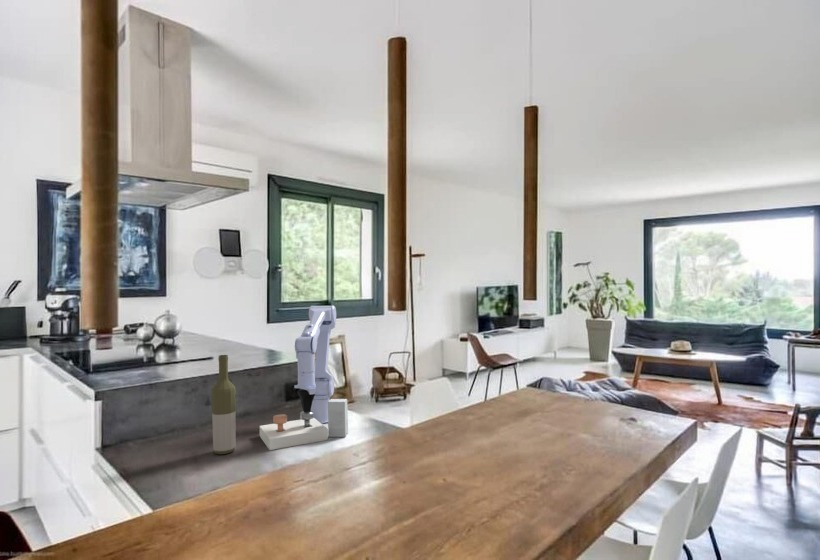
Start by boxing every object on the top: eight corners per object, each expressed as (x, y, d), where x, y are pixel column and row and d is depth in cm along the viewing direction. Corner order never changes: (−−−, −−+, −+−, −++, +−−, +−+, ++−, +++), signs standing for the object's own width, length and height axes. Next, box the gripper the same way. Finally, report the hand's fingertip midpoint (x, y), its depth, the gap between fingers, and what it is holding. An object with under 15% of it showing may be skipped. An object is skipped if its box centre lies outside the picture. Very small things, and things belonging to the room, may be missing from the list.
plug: (298, 426, 158) (298, 411, 158) (311, 424, 160) (311, 409, 160) (302, 430, 154) (302, 414, 154) (315, 428, 156) (315, 412, 156)
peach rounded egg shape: (272, 431, 154) (271, 415, 154) (285, 429, 156) (285, 413, 156) (275, 434, 150) (274, 418, 150) (288, 432, 152) (288, 416, 152)
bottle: (207, 456, 140) (206, 357, 141) (218, 447, 147) (217, 353, 148) (230, 456, 140) (229, 357, 140) (240, 447, 147) (239, 353, 147)
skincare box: (348, 433, 160) (347, 398, 160) (345, 437, 155) (345, 401, 156) (331, 433, 160) (330, 398, 160) (327, 437, 156) (327, 401, 156)
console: (259, 436, 158) (259, 425, 158) (313, 427, 167) (313, 417, 168) (269, 450, 144) (269, 439, 144) (328, 439, 153) (327, 429, 154)
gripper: (289, 369, 162) (289, 408, 162) (300, 376, 149) (301, 418, 149) (308, 367, 165) (309, 405, 165) (321, 374, 153) (322, 415, 152)
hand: (306, 411), depth 157 cm, fingers closed
